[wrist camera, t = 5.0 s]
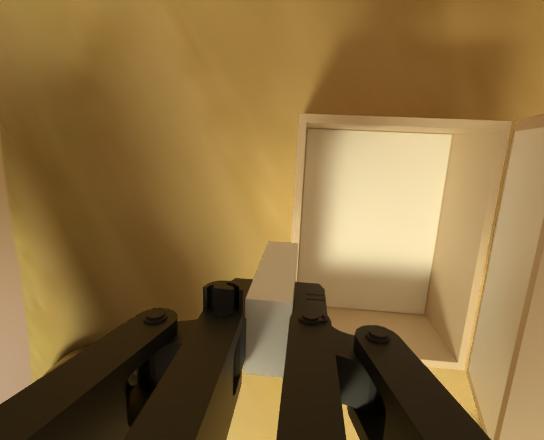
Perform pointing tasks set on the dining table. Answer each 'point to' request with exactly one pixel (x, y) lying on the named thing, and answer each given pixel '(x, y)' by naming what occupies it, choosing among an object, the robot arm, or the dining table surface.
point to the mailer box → (399, 223)
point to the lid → (514, 300)
